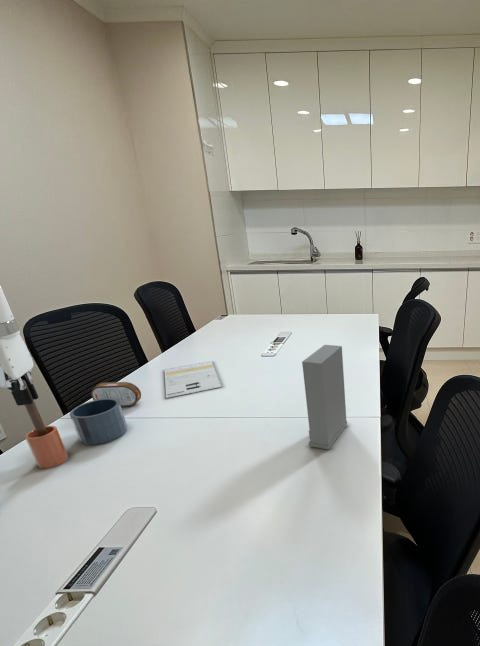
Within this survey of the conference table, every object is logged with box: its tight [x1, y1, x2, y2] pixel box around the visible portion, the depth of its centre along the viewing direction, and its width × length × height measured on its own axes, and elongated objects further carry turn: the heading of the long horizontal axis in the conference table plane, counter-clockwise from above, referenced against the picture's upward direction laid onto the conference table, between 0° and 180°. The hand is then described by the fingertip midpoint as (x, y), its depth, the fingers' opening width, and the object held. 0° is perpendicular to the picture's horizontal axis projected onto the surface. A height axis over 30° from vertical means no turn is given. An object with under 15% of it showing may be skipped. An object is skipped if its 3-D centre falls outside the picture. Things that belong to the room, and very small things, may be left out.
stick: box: [14, 380, 48, 437], centre depth 97 cm, size 2×2×16 cm
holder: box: [24, 425, 69, 469], centre depth 101 cm, size 6×6×9 cm
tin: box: [90, 381, 142, 408], centre depth 130 cm, size 15×3×8 cm, turn 94°
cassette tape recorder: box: [301, 344, 348, 451], centre depth 106 cm, size 14×6×25 cm, turn 162°
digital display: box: [164, 361, 222, 399], centre depth 152 cm, size 18×1×30 cm
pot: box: [69, 398, 129, 446], centre depth 113 cm, size 12×12×9 cm
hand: (28, 401), depth 96 cm, fingers closed on stick, 2 cm apart
